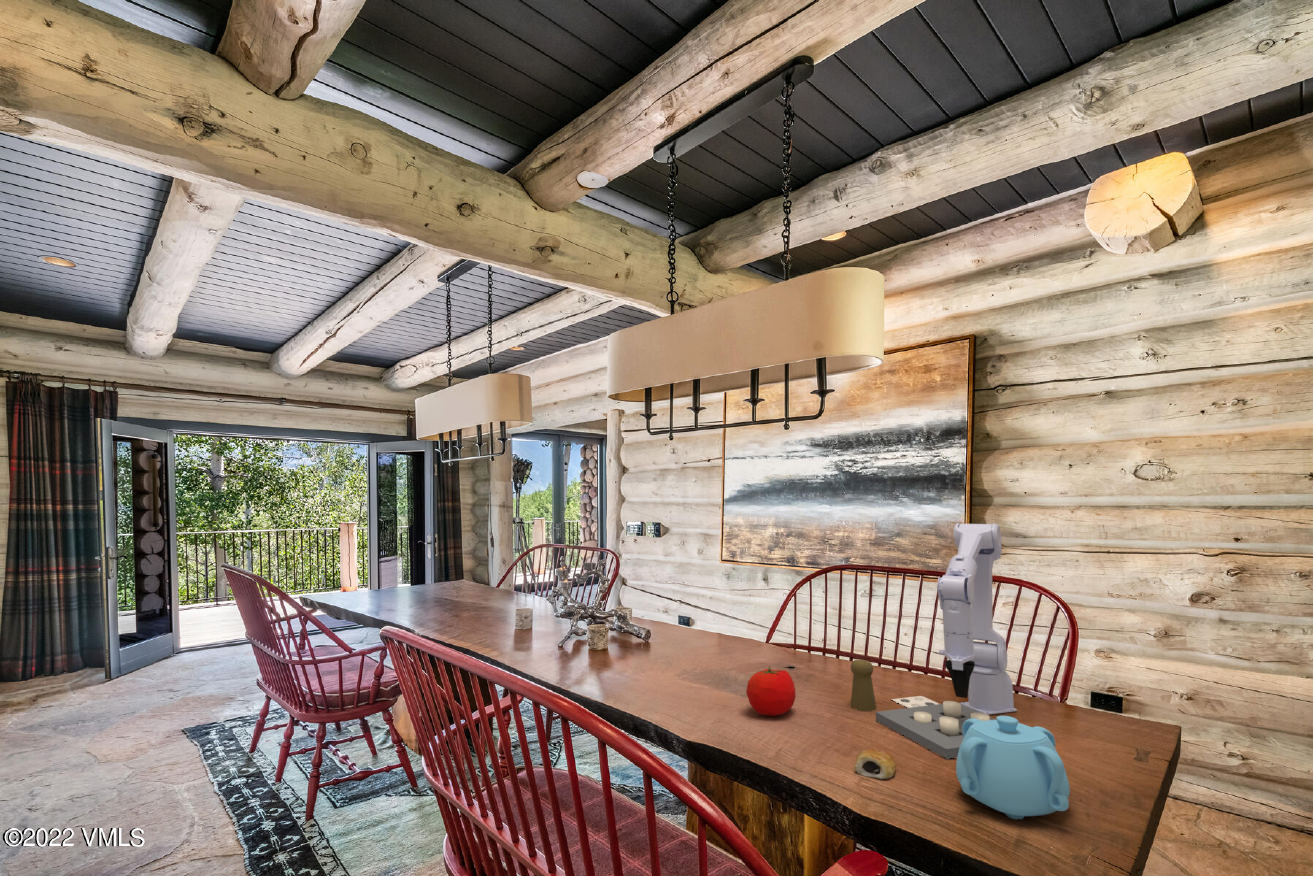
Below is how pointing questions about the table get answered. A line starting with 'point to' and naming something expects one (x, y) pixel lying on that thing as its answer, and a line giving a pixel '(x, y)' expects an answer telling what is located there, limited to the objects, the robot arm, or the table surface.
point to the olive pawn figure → (862, 686)
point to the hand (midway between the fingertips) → (961, 696)
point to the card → (914, 701)
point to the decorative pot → (1012, 767)
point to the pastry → (875, 764)
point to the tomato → (771, 692)
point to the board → (926, 728)
